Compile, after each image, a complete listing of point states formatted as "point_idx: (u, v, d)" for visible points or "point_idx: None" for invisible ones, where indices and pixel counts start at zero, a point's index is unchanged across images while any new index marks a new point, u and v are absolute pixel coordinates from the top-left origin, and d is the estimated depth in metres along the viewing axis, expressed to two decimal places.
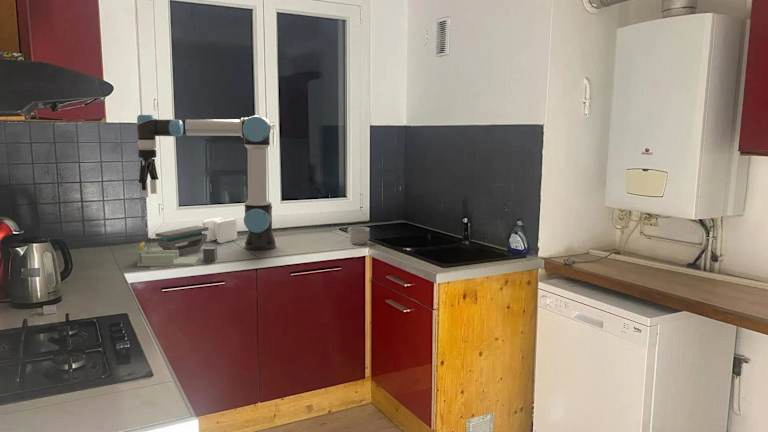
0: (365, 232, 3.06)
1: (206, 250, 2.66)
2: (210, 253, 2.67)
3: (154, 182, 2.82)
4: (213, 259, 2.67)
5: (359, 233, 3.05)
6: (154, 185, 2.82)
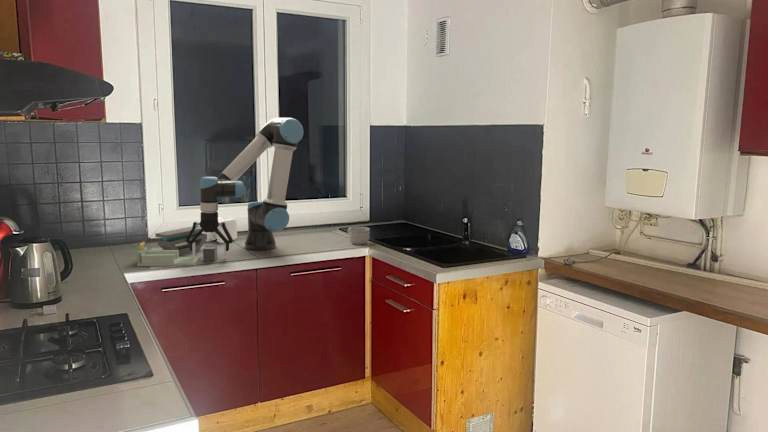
0: (365, 232, 3.06)
1: (206, 250, 2.66)
2: (210, 253, 2.67)
3: (224, 246, 2.70)
4: (213, 259, 2.67)
5: (359, 233, 3.05)
6: (224, 249, 2.70)
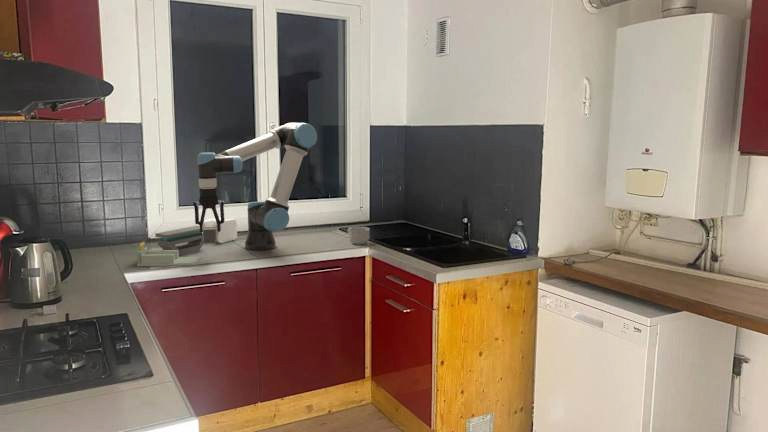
0: (365, 232, 3.06)
1: (206, 231, 2.65)
2: (210, 234, 2.66)
3: (215, 227, 2.68)
4: (214, 240, 2.66)
5: (359, 233, 3.05)
6: None
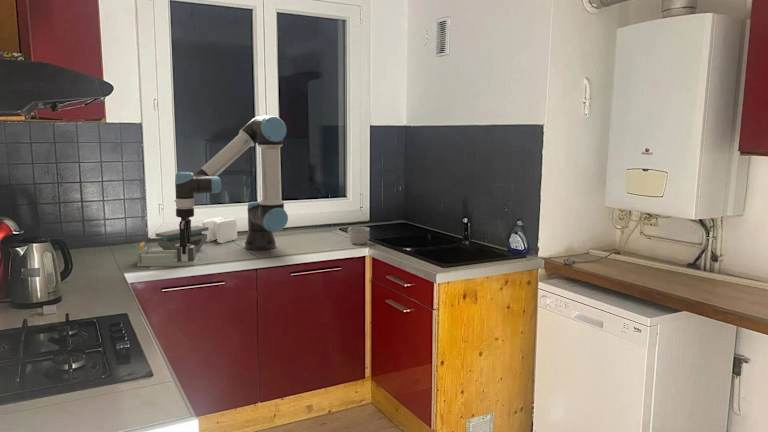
0: (365, 232, 3.06)
1: (193, 248, 2.64)
2: (194, 251, 2.66)
3: None
4: (195, 256, 2.67)
5: (359, 233, 3.05)
6: None
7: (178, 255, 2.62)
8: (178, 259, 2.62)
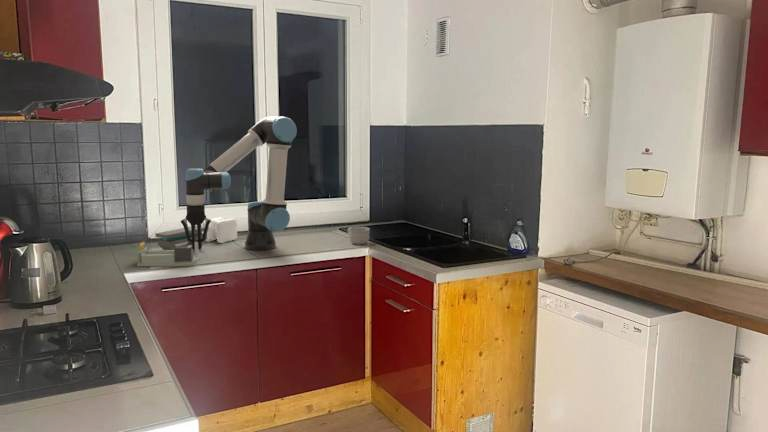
0: (365, 232, 3.06)
1: (191, 248, 2.64)
2: (192, 251, 2.66)
3: None
4: None
5: (359, 233, 3.05)
6: None
7: (176, 255, 2.62)
8: (176, 259, 2.62)
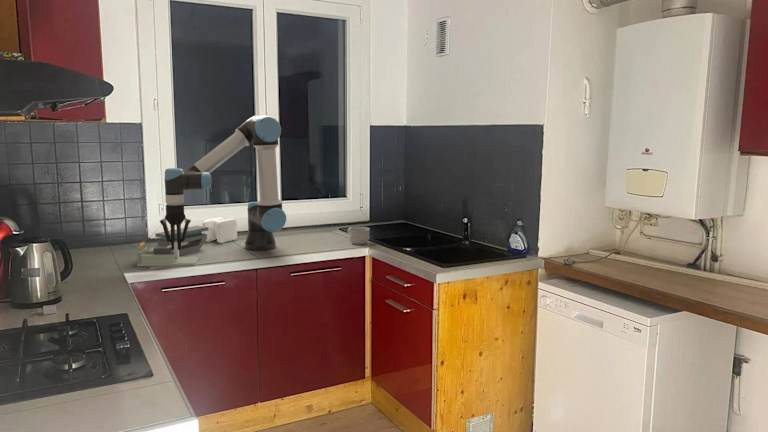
0: (365, 232, 3.06)
1: (170, 249, 2.62)
2: (171, 251, 2.64)
3: None
4: None
5: (359, 233, 3.05)
6: None
7: None
8: None
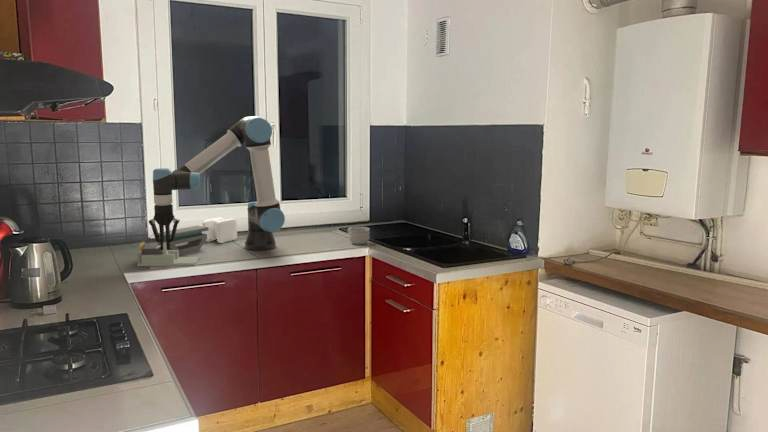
0: (365, 232, 3.06)
1: (159, 249, 2.62)
2: (161, 251, 2.64)
3: None
4: None
5: (359, 233, 3.05)
6: None
7: None
8: None
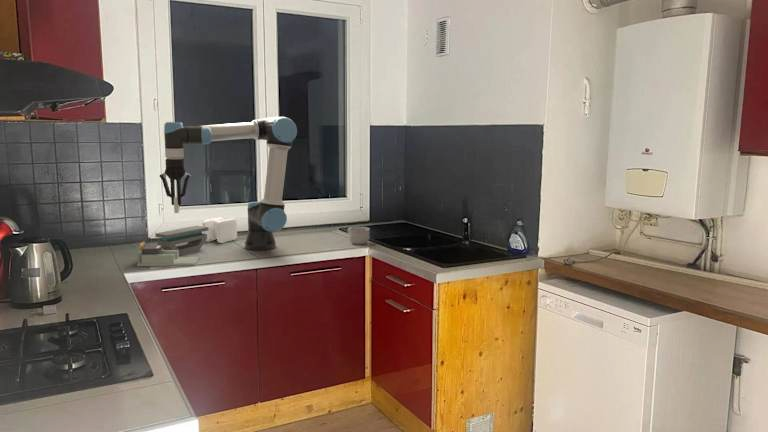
0: (365, 232, 3.06)
1: (159, 249, 2.62)
2: (161, 251, 2.64)
3: None
4: None
5: (359, 233, 3.05)
6: None
7: None
8: None
